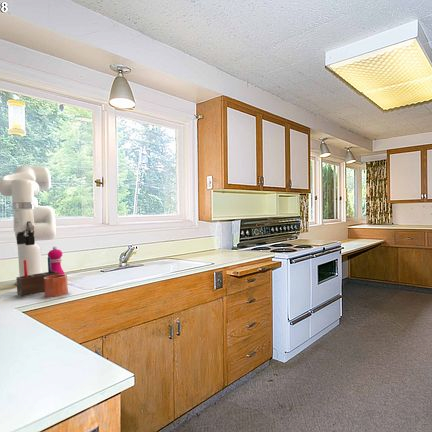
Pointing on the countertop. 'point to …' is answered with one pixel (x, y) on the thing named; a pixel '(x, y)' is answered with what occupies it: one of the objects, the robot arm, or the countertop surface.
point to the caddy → (32, 283)
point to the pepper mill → (56, 260)
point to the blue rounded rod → (49, 265)
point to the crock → (55, 285)
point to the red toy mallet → (25, 269)
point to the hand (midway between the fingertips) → (25, 244)
